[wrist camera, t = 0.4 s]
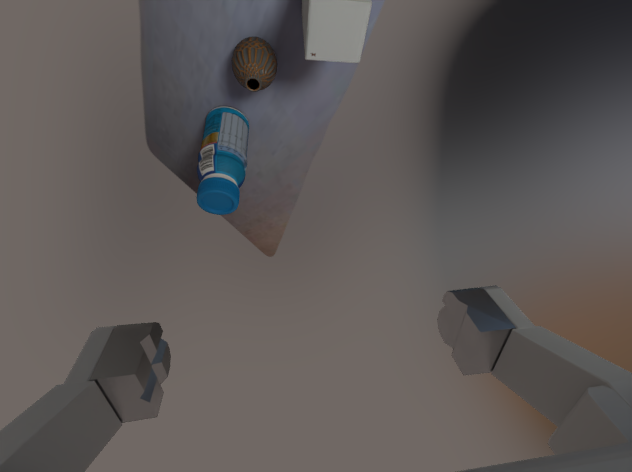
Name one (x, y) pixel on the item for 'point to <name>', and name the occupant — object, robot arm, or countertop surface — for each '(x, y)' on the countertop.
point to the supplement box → (335, 29)
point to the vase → (254, 63)
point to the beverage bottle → (222, 160)
